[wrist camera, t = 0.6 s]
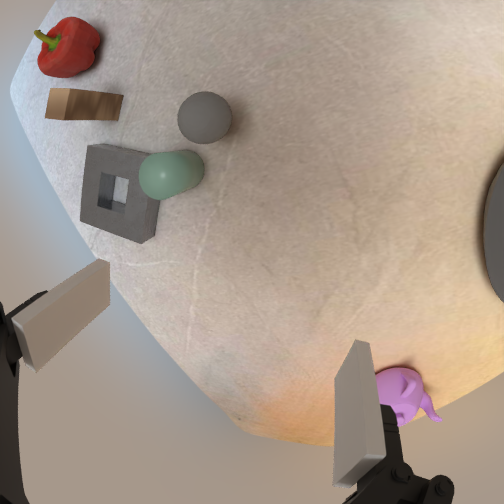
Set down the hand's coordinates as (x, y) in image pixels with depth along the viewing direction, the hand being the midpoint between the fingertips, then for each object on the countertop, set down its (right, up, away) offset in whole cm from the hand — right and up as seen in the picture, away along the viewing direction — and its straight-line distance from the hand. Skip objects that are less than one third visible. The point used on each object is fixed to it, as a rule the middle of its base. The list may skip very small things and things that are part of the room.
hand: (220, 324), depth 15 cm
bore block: (-17, +13, +29) cm, 36 cm away
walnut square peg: (-20, +26, +24) cm, 41 cm away
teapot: (+26, -20, +32) cm, 46 cm away
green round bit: (-8, +15, +26) cm, 31 cm away
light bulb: (-2, +21, +23) cm, 31 cm away
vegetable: (-26, +37, +22) cm, 50 cm away
